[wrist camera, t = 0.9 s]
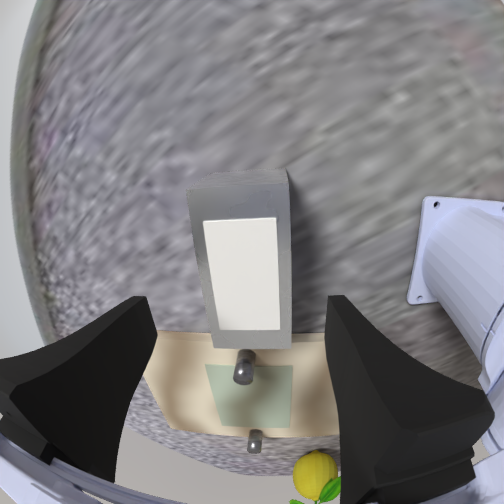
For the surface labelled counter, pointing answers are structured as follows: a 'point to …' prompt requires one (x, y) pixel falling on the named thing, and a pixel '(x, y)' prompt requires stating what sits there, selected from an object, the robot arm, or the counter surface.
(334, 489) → the lemon
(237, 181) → the block
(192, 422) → the pin tray
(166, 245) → the counter surface
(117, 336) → the robot arm
